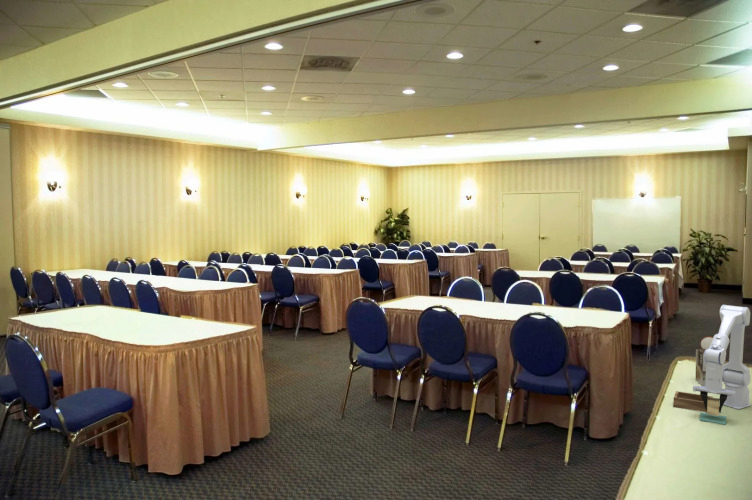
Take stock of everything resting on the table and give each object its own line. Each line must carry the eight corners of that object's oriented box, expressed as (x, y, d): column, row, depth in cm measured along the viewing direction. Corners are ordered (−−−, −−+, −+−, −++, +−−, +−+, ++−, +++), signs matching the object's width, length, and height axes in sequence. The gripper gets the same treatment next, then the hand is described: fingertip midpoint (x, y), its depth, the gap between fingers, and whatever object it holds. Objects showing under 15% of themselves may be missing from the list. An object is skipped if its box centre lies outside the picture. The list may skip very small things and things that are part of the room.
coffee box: (716, 386, 260) (717, 353, 259) (701, 385, 262) (702, 353, 260) (709, 380, 269) (709, 348, 268) (694, 380, 270) (695, 348, 269)
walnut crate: (675, 399, 244) (676, 391, 244) (712, 405, 236) (712, 396, 236) (673, 406, 236) (673, 397, 236) (711, 413, 228) (711, 403, 228)
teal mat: (700, 413, 228) (700, 412, 228) (726, 417, 223) (726, 416, 223) (699, 420, 220) (699, 419, 220) (725, 425, 215) (725, 423, 215)
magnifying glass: (719, 375, 276) (720, 337, 274) (718, 376, 275) (719, 337, 273) (699, 373, 281) (700, 335, 280) (699, 373, 280) (700, 335, 278)
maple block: (707, 411, 224) (708, 396, 224) (719, 412, 222) (719, 398, 222) (707, 414, 221) (707, 399, 220) (718, 416, 219) (719, 401, 218)
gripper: (692, 378, 221) (691, 410, 222) (735, 383, 213) (734, 417, 214) (693, 373, 227) (693, 405, 228) (735, 379, 219) (734, 411, 220)
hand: (713, 410), depth 221 cm, fingers closed on maple block, 4 cm apart
